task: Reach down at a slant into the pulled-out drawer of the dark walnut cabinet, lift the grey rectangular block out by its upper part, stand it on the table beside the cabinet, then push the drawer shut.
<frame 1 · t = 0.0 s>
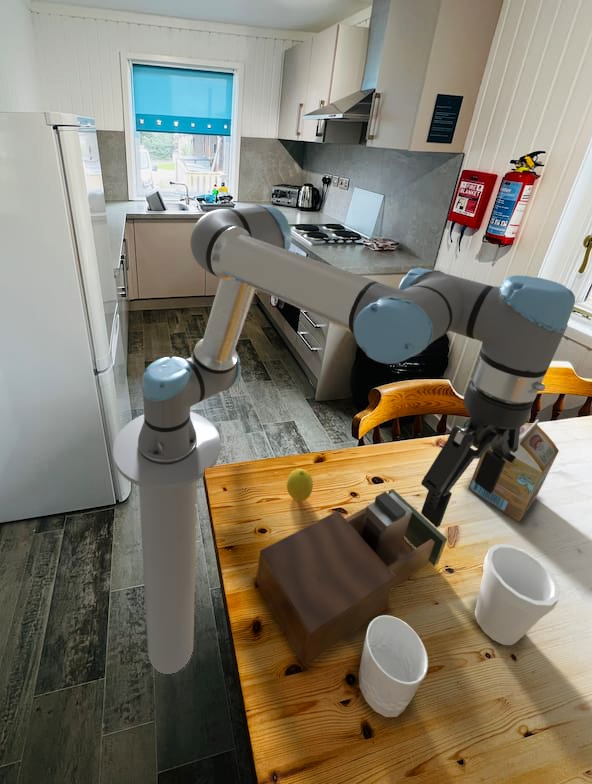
hand: (458, 502, 62), 22 cm above the table, tool pointing down, fingers open, 13 cm apart
cabinet: (319, 595, 69), on the table
lemon: (297, 498, 87), on the table
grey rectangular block: (376, 554, 74), point 2 cm above the table, touching drawer
drawer: (387, 540, 74), point 4 cm above the table, slide at 13.5 cm, touching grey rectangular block
white cup: (381, 687, 58), on the table
milk carton: (501, 494, 92), on the table
foam cup: (495, 623, 66), on the table
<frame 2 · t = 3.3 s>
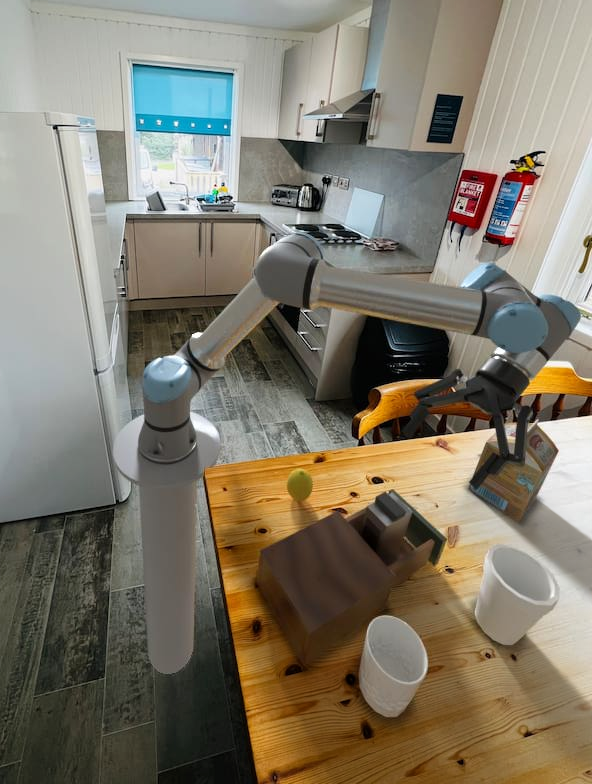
hand: (436, 458, 71), 21 cm above the table, tool tilted 45°, fingers open, 13 cm apart
nothing on the table moved.
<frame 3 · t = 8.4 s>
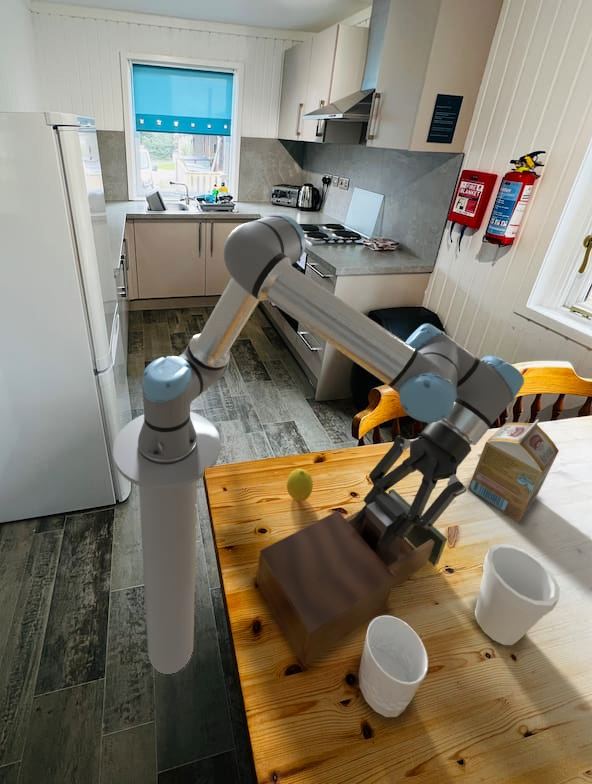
hand: (369, 533, 69), 10 cm above the table, tool tilted 45°, fingers closed on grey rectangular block, 5 cm apart
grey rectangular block: (376, 554, 74), point 2 cm above the table, touching drawer, gripper
everything else where it was.
when the fingers open (8 cm above the table, at t = 17.5 s): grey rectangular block stays where it is, on the table.
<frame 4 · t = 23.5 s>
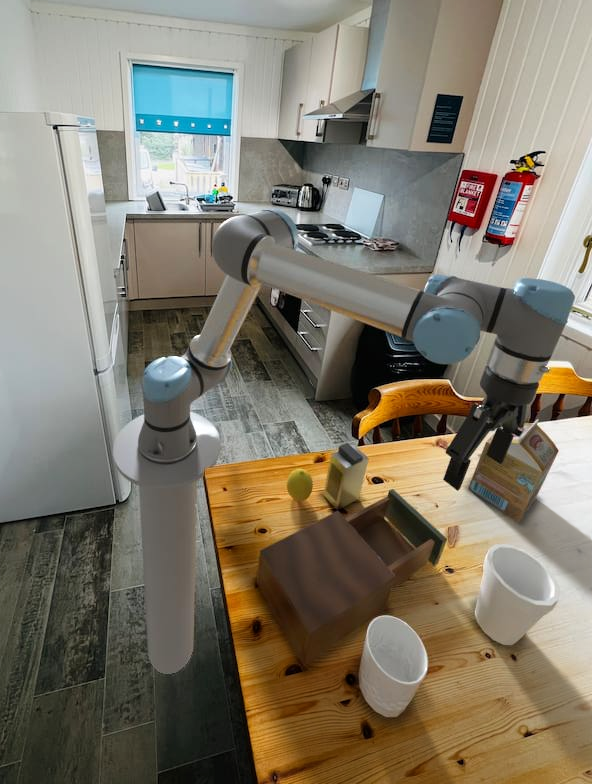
hand: (473, 471, 73), 19 cm above the table, tool pointing down, fingers open, 13 cm apart
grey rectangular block: (340, 496, 88), on the table
drawer: (387, 540, 74), point 4 cm above the table, slide at 13.5 cm
everything else where it was.
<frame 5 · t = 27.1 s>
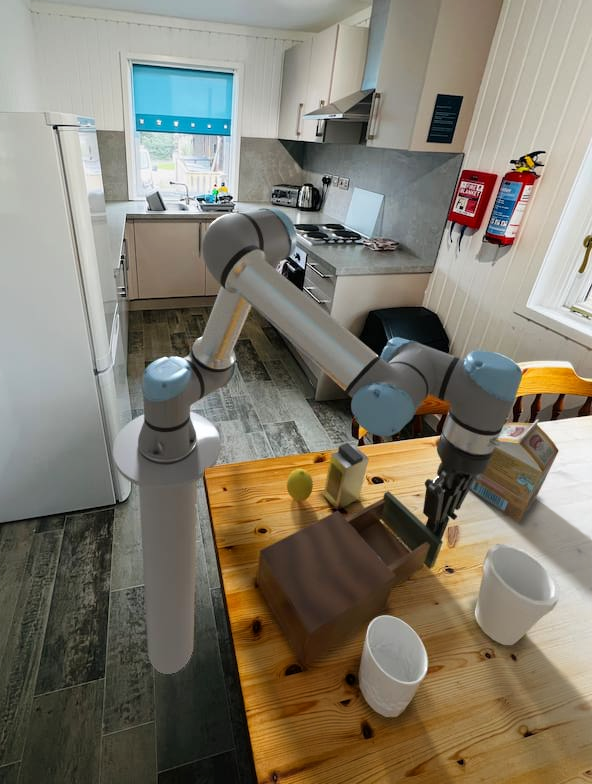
hand: (431, 538, 74), 5 cm above the table, tool pointing down, fingers closed
drawer: (382, 543, 74), point 4 cm above the table, slide at 12.2 cm, touching gripper
everything else where it was.
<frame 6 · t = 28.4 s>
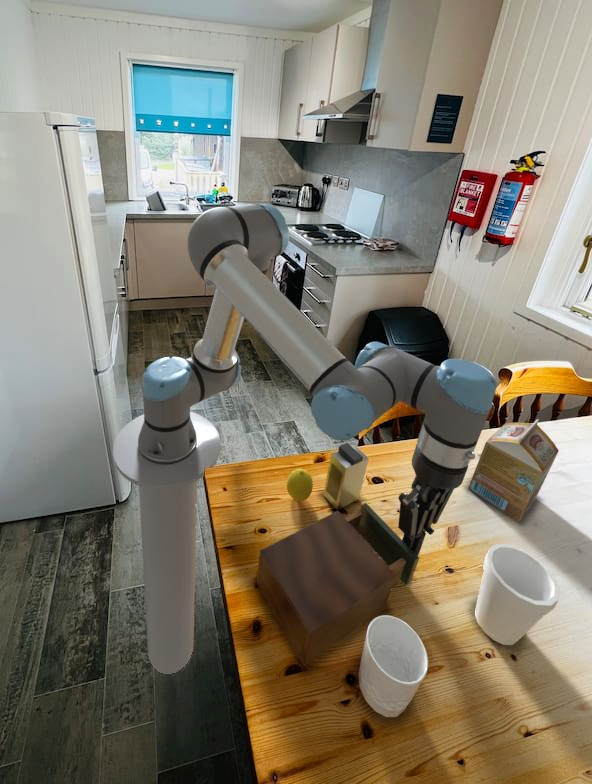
hand: (408, 553, 71), 5 cm above the table, tool pointing down, fingers closed
drawer: (357, 558, 71), point 4 cm above the table, slide at 5.8 cm, touching gripper
everything else where it was.
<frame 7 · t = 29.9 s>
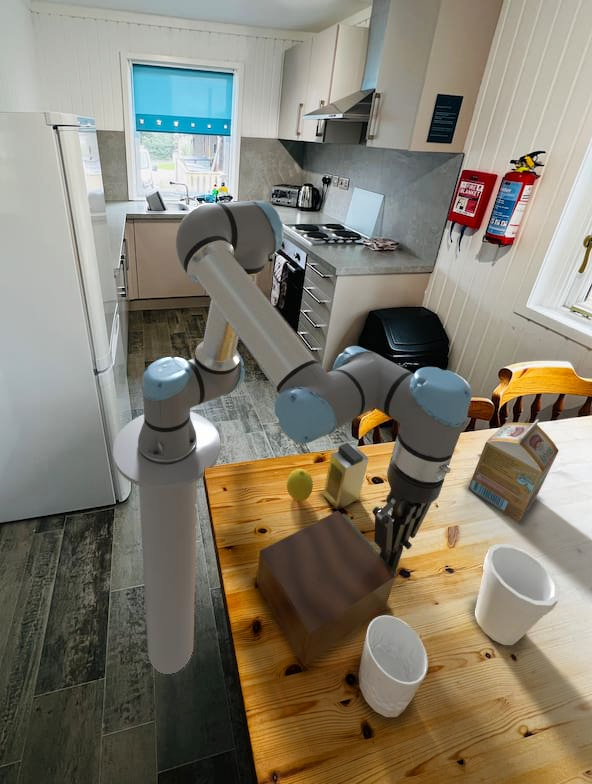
hand: (386, 567, 68), 5 cm above the table, tool pointing down, fingers closed
drawer: (333, 573, 68), point 4 cm above the table, slide at 0.0 cm, touching cabinet, gripper
everything else where it was.
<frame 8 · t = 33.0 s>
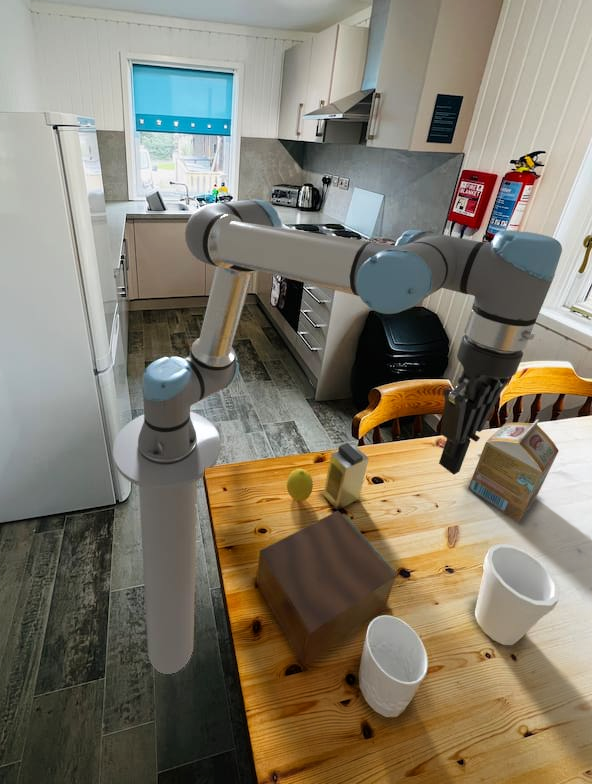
hand: (448, 467, 65), 24 cm above the table, tool pointing down, fingers closed
drawer: (333, 573, 68), point 4 cm above the table, slide at 0.0 cm
everything else where it was.
at the end: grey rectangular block inside the target area (0.1 cm from its centre), on the table; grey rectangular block tilted 0°; drawer slide at 0.0 cm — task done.
